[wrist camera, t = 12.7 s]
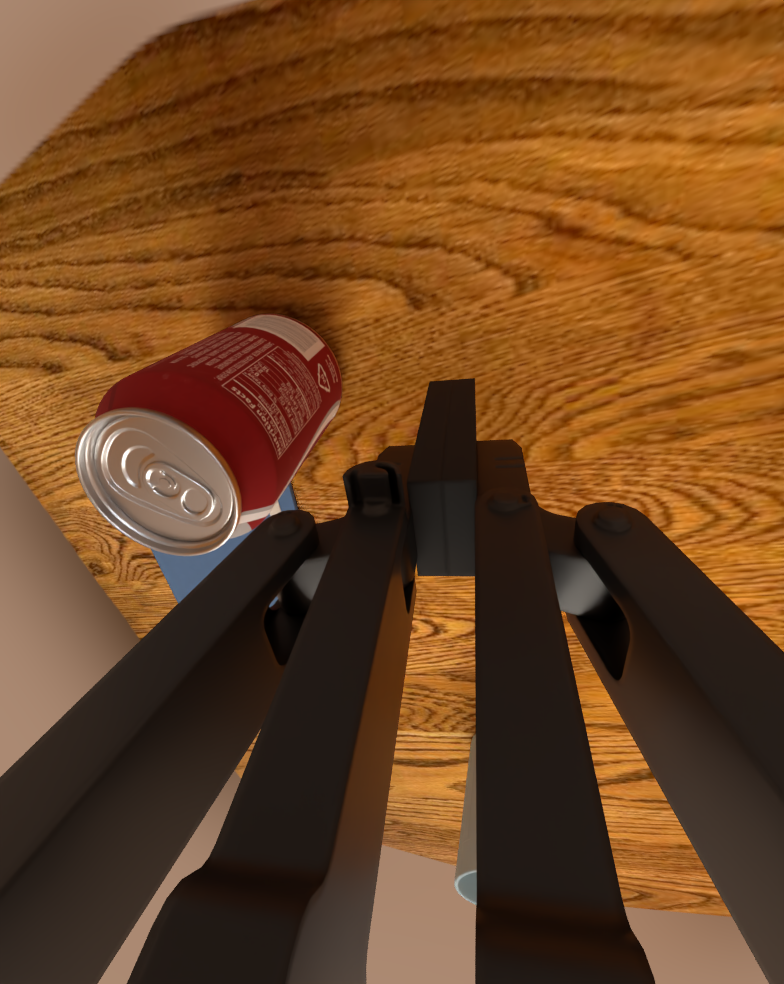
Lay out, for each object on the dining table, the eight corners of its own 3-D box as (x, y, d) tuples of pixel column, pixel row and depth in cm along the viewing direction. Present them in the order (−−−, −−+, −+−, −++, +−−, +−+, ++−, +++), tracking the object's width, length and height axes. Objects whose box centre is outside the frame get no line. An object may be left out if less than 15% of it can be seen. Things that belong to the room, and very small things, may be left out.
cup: (527, 710, 37) (543, 867, 28) (562, 760, 40) (587, 916, 31) (444, 726, 40) (435, 873, 31) (482, 772, 43) (484, 917, 34)
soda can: (256, 281, 22) (78, 341, 12) (369, 363, 24) (292, 478, 14) (208, 387, 26) (38, 501, 16) (309, 453, 27) (212, 598, 17)
